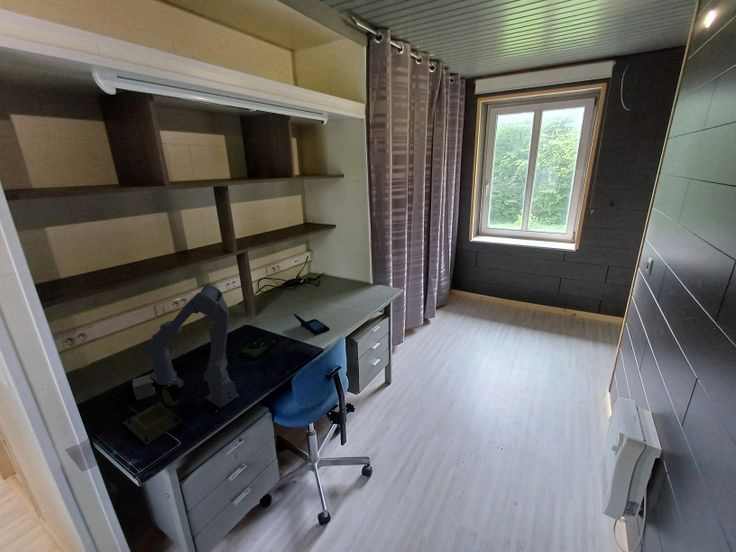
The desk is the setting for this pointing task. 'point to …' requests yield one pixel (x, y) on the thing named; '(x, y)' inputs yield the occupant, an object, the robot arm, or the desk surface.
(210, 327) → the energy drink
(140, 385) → the grey cube
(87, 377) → the desk surface
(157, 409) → the mounting bracket
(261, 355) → the disk drive
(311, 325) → the black handheld device
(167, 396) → the switch lever
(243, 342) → the desk surface
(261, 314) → the desk surface
